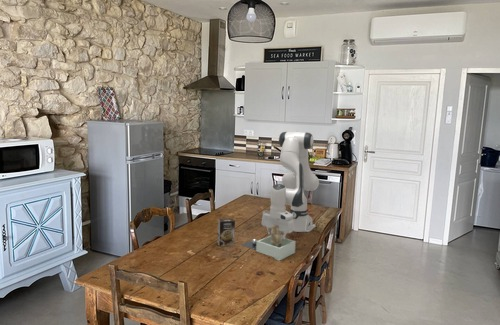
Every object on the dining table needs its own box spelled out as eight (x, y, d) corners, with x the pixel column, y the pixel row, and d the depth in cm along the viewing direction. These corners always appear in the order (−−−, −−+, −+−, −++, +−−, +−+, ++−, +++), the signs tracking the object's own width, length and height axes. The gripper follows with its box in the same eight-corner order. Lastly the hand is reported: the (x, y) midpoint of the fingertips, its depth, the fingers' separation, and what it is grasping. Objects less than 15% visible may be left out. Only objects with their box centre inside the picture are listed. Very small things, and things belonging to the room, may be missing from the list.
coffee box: (219, 248, 220) (220, 221, 217) (217, 244, 226) (217, 218, 223) (234, 247, 222) (235, 220, 220) (232, 243, 228) (232, 217, 226)
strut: (270, 251, 215) (271, 224, 213) (275, 249, 219) (276, 222, 216) (276, 253, 213) (278, 226, 210) (281, 251, 216) (282, 224, 214)
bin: (272, 245, 227) (273, 234, 226) (294, 252, 217) (295, 241, 216) (256, 252, 215) (256, 241, 214) (279, 260, 205) (279, 248, 204)
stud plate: (252, 241, 233) (253, 234, 232) (268, 246, 225) (268, 238, 225) (240, 246, 223) (240, 238, 223) (255, 251, 216) (256, 244, 215)
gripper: (259, 210, 216) (258, 233, 218) (289, 218, 204) (288, 242, 206) (266, 208, 221) (265, 230, 223) (295, 215, 209) (294, 239, 211)
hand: (276, 236), depth 214 cm, fingers open, 8 cm apart
